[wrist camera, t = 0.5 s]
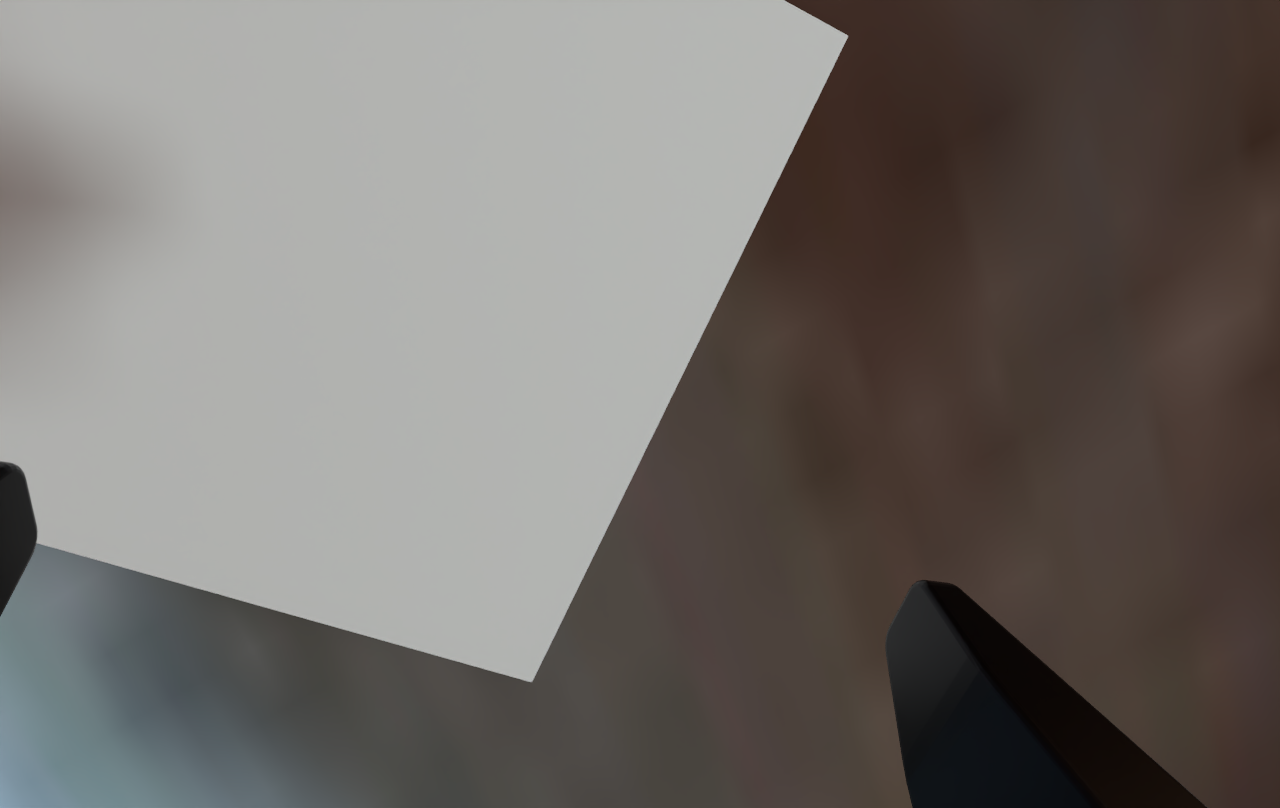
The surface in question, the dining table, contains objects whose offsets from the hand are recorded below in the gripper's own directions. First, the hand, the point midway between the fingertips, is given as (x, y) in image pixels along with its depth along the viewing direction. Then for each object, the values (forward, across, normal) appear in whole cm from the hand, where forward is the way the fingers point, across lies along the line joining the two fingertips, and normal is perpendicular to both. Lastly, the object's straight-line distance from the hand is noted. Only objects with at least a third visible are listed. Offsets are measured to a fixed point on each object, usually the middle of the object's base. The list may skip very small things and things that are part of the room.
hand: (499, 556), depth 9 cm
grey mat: (+13, +5, +4) cm, 14 cm away
